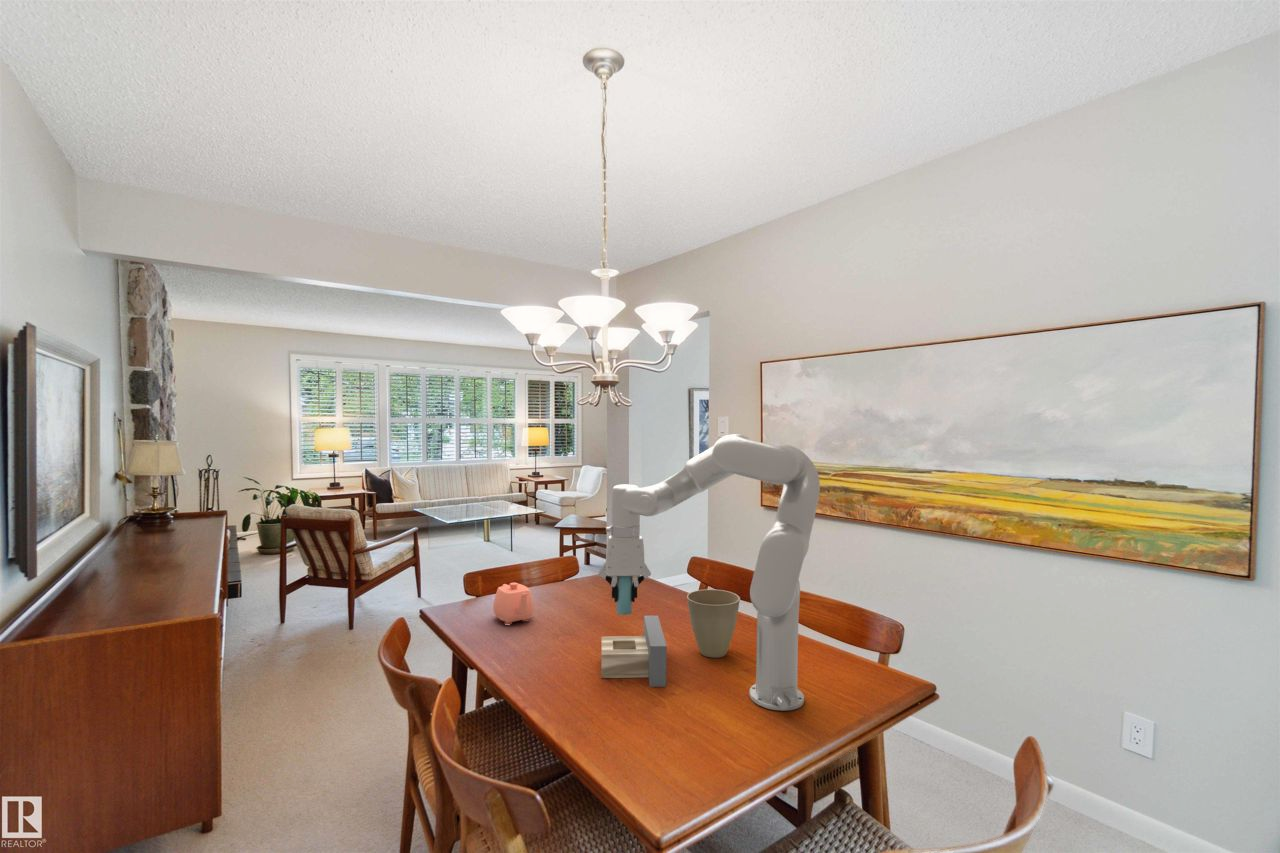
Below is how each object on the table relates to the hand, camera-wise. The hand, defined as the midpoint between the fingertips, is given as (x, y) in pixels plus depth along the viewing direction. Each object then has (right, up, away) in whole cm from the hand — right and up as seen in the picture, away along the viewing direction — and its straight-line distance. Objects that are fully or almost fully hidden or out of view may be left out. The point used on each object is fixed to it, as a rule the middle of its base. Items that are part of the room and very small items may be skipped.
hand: (624, 599), depth 149 cm
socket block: (0, -18, 0) cm, 18 cm away
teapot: (-37, -18, +35) cm, 54 cm away
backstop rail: (+8, -18, +1) cm, 20 cm away
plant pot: (+25, -18, +11) cm, 33 cm away
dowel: (0, -3, 0) cm, 3 cm away
